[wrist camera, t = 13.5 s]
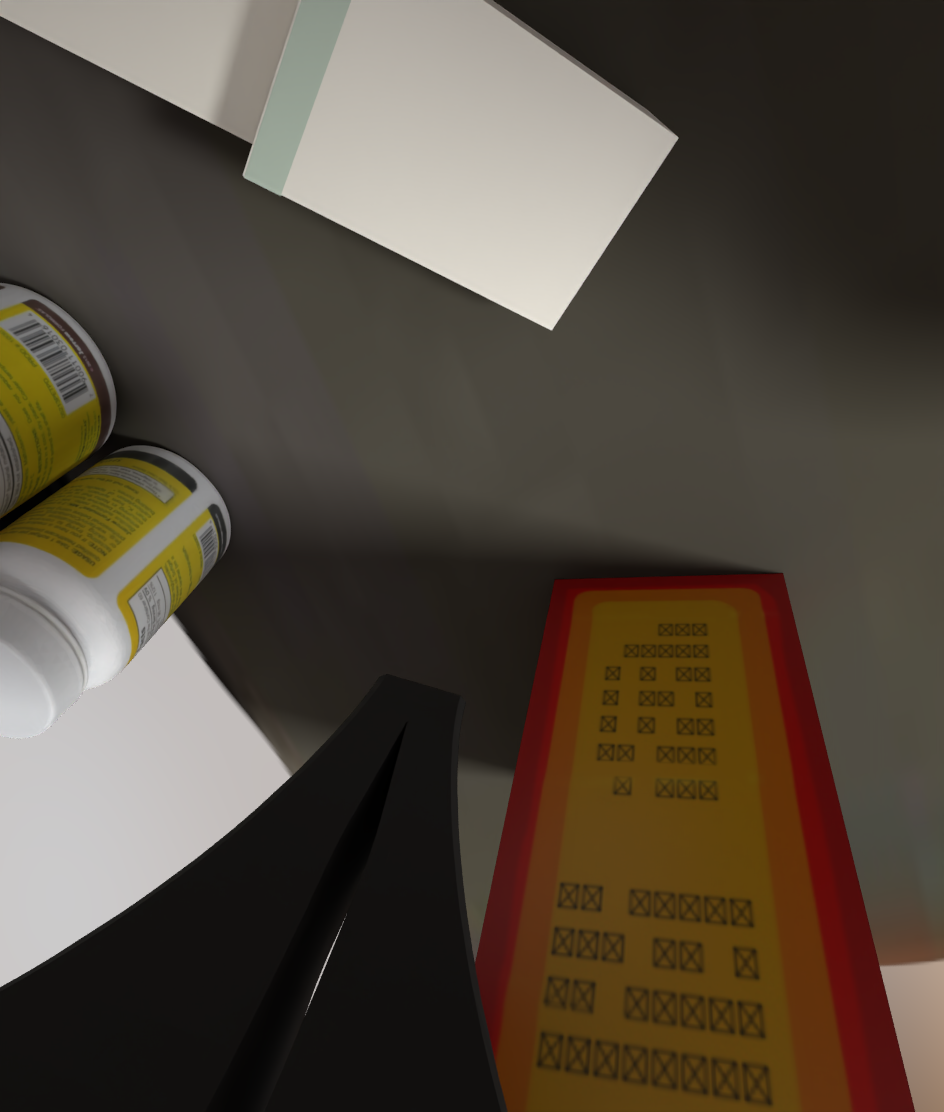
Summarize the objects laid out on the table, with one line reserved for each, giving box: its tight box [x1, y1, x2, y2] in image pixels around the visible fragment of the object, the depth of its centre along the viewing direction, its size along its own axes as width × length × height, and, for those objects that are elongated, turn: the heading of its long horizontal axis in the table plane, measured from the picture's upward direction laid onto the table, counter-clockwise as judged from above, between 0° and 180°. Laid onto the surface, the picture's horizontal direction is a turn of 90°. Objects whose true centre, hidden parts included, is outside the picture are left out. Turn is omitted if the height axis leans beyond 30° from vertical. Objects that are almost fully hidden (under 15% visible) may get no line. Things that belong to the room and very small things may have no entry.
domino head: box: [243, 0, 679, 330], centre depth 14 cm, size 2×4×7 cm
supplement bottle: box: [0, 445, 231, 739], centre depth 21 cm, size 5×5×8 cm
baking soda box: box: [475, 573, 915, 1112], centre depth 17 cm, size 10×6×16 cm
